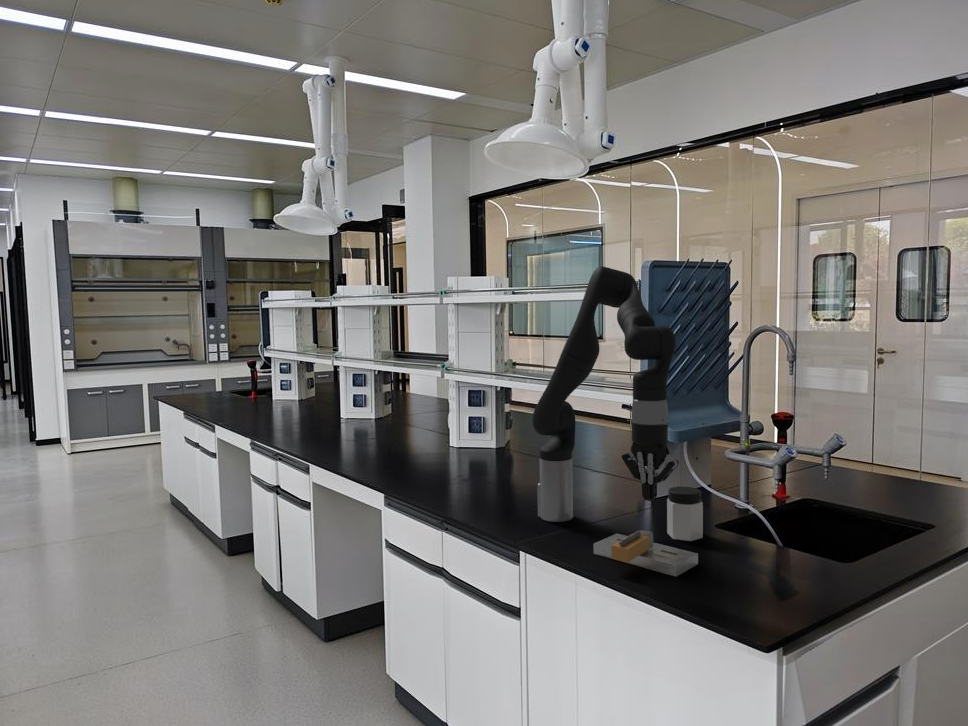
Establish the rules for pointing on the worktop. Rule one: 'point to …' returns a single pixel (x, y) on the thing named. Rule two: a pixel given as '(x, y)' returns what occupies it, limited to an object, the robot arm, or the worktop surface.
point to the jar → (685, 513)
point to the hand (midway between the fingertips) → (649, 499)
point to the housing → (653, 556)
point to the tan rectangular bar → (632, 546)
